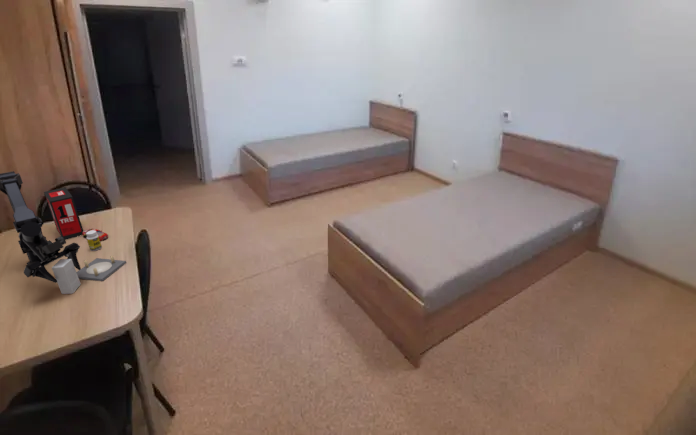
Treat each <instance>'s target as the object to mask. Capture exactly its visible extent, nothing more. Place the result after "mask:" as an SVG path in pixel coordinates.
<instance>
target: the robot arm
mask: <svg viewBox="0 0 696 435" xmlns="http://www.w3.org/2000/svg"><path fill="white" fill-rule="evenodd" d="M23 184H24V182H23V180H22V177H21V174H20V173H19V172H18V173H16V172H15V171H14V170H13V171H8V172H2V173H0V192H2V193H3V194H5V195H6V197H7V199H8V201H9V205H10V206H11V209H12V211H13V215H12V217H13V220H14V221H12V222H13V226H14V229H15V231H16V233H17V234H18V238H19V240H17V241H18V245H19V247H20V250H21V252H22V254H23V255H25V254H26V256H27V259H28V261H27V262H26V264H25V267H24V269H23V274H24V275H25V276H26V277H27V278H29V277H32V278H35V277H37V278H41V279H44V280H47V281H50V282H51V283H55V284H58V283H57V280H56V278H55V276H53V275H52V274H51V273H50V272H49V271H48V269H47V268H46V267H45V266H47V265H49V264H51V263H52V262H55V261H56V260H58V259H59V260H60V259H61V258H62V257H64V258H66V259H72V261H73V264H74V267H75V269H77V271H79V270H80V269H82V267H81V265H80V263H79V260H78V257H77V253H78V251H79V249H80V247H81V246H80V245H79V244H78V243H77V242H71V243H70V244H68V245H66V246H64V245H65V244H67V241H66V240H65V239H64V238H63V237H61V236H58V237H56V238H54V242H53V241H52V240H48V239H47V237H46V236H44V234H43V230H42V227H43V226H44V221H43V220H42V218H41V217H39V215H36V214H35V212H34V210H32V209H31V208H29V207H28V205H27V203H26V201H25V198H24V196H23V194H22V192H21V189H22V185H23ZM61 249H63V250H61Z"/></svg>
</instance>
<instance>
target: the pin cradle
mask: <svg viewBox="0 0 696 435" xmlns="http://www.w3.org/2000/svg"><path fill="white" fill-rule="evenodd" d="M83 263H84V266H83V267H81V269H80V270H76V272H77V275H78V278H79V280H86V281H87V280H89V281H95V282H96V281H98V282H104V281H105V280H107V278H109V277H110V276H112V274H114V273H116V272H117V271H118V270H119V269H120V268H122V267H123V266H124V265H126V264H127V260H120V259H119V260H118V259H115V258H114V255H111V256H110V258H98V257H96V258H95V259H93V260H92V261H90V262H88V259H85V260H83Z"/></svg>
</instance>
